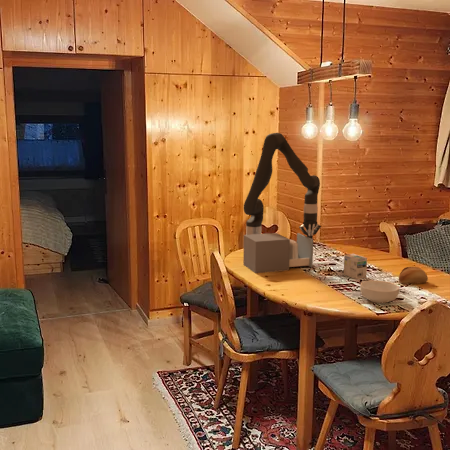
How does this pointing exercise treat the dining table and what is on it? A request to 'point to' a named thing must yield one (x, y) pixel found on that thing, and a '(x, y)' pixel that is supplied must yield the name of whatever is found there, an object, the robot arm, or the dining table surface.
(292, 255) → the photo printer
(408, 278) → the bread roll
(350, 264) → the light bulb box
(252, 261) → the cabinet
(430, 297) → the dining table surface
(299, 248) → the drawer tray
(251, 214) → the robot arm
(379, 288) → the cereal bowl
